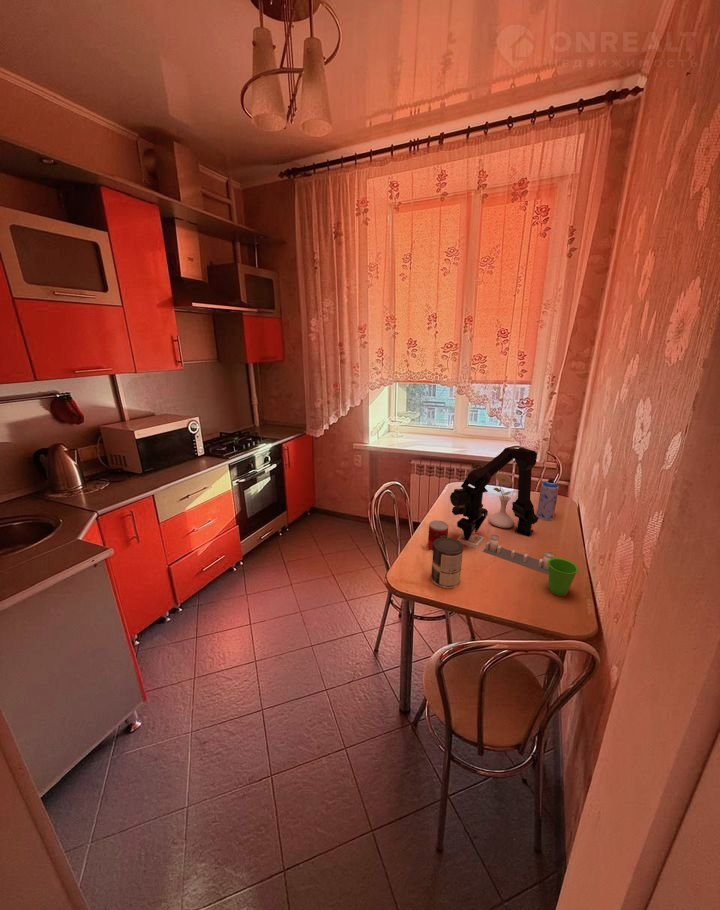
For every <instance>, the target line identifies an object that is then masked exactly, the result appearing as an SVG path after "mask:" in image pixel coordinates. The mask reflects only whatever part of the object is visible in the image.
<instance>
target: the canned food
mask: <svg viewBox="0 0 720 910" xmlns="http://www.w3.org/2000/svg"><path fill="white" fill-rule="evenodd" d="M428 524H429V525H428V538H427V548H428V549H427V550H428V551H433V543H434V541H435V540H436V539H438V538H449V537H448V536H449V535H448V534H449V524H448V523H447V522H445V521H442V520H439V519H438V520H432V521H430V522H429V523H428Z"/></svg>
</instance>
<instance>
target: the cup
mask: <svg viewBox="0 0 720 910" xmlns="http://www.w3.org/2000/svg"><path fill="white" fill-rule="evenodd" d="M548 565H549V575H548V590H549V591H550V593H552V594H553V595H555V596H558V597H566V596H567V595H568V592H569V590H570V588H571V586H572V584H573V581H574V579H575V577H576V575H577V573H578V572H579V567H578V565H576V563H574V562H572V560H571V561H570V560H568V559H565V558H562V557H561V558H560V557H554V558H551V559H549V560H548Z"/></svg>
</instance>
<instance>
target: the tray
mask: <svg viewBox="0 0 720 910" xmlns="http://www.w3.org/2000/svg"><path fill="white" fill-rule="evenodd" d="M475 539H476V540H477V542H476V543H475V542H474V543H471V542H468V541H466V540H465V537H464V533H463V532H462V533H461V534H460V535H459V536H458V537H457V538H456V540H458V541H460V542H461V543H462V544H463V546H464V545H465V546H468V547H471V548H474V549H478V548H479V547H480V546H481V544H483V542H484V541H485V537H484V536H482V535H478V534H476V533H475Z"/></svg>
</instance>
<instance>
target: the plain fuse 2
mask: <svg viewBox="0 0 720 910" xmlns="http://www.w3.org/2000/svg"><path fill="white" fill-rule="evenodd" d="M543 555H544V556H543V566H542V568H543V569H545V570H548V571H549V565H548V560H549V559H551V558H555V554H554V553H553V552H550V551H545V552H544V554H543Z"/></svg>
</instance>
